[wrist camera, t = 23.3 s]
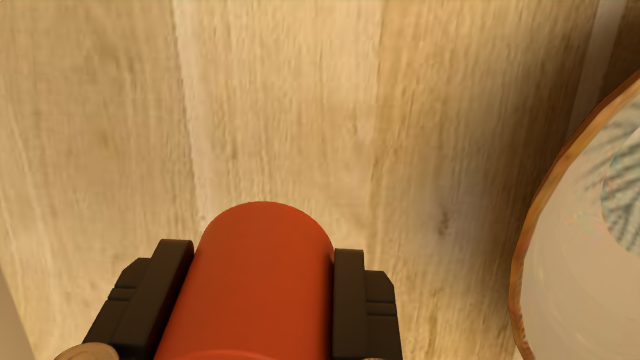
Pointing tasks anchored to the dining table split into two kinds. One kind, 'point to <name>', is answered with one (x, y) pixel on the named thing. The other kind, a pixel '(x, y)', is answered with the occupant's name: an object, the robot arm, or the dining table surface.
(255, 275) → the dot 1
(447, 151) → the dining table surface
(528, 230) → the bowl
